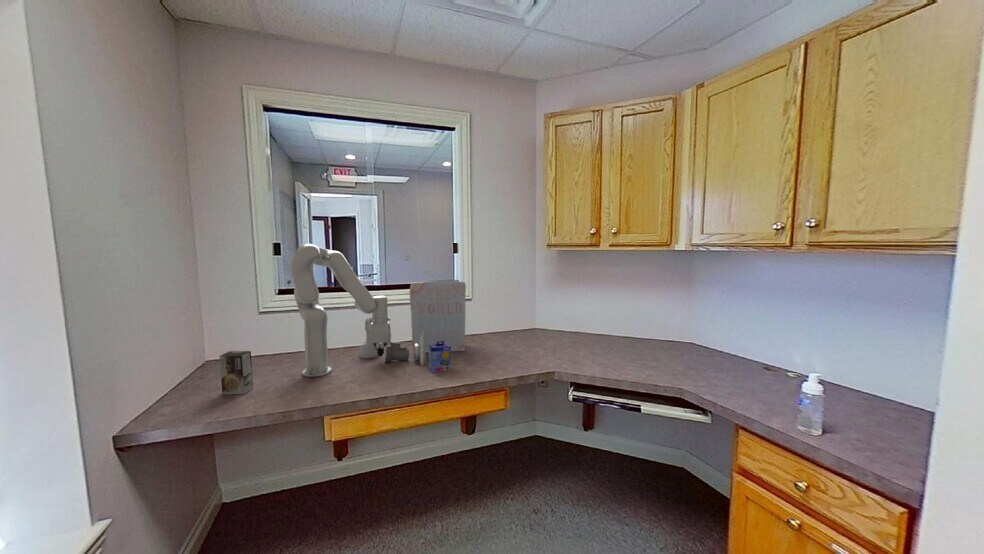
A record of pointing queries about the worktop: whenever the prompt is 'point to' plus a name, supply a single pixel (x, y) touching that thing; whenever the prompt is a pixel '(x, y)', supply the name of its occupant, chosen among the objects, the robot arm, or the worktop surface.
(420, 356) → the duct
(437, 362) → the ink cartridge box
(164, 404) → the worktop surface
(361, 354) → the electric toothbrush
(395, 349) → the pipe fitting
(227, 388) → the coffee box
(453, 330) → the grey shopping bag
